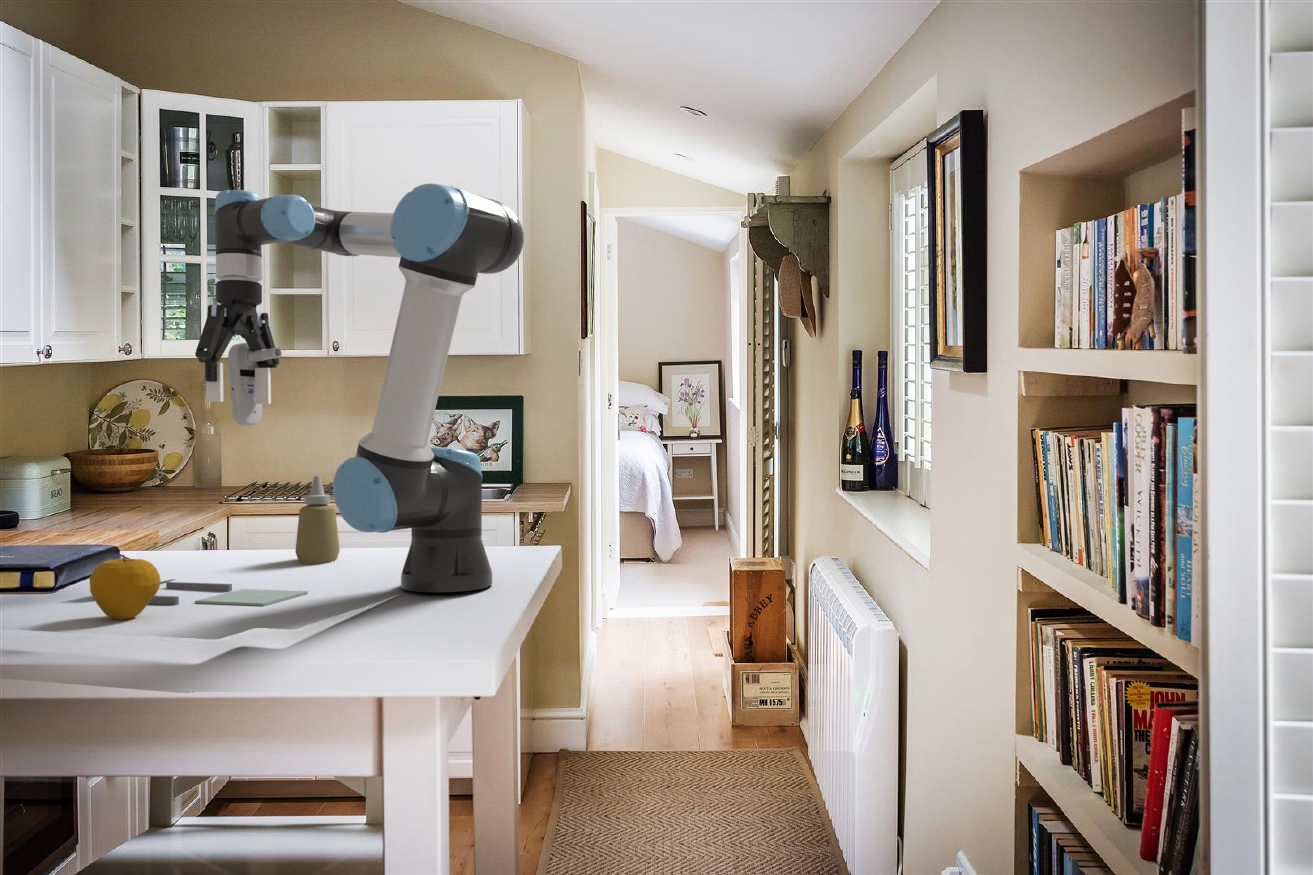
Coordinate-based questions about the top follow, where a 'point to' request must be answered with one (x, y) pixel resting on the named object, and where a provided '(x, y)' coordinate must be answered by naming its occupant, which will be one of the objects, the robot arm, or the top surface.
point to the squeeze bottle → (317, 528)
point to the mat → (251, 597)
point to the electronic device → (246, 381)
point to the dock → (187, 586)
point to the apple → (124, 586)
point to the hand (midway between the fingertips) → (239, 403)
